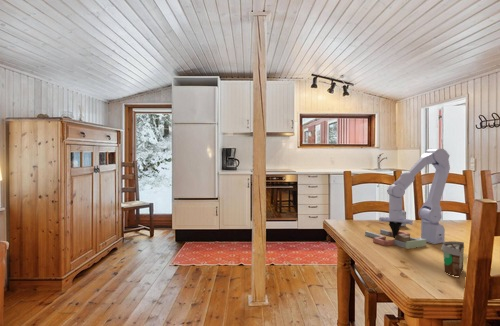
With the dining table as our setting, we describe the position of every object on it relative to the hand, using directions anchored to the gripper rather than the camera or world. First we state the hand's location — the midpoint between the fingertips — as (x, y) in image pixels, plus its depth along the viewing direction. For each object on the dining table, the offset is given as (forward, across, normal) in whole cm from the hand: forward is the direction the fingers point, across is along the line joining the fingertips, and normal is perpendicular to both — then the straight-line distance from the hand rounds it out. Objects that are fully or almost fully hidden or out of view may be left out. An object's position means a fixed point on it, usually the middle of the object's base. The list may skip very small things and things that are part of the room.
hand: (395, 237), depth 156 cm
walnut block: (+1, -3, +2) cm, 4 cm away
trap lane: (+1, +1, -1) cm, 2 cm away
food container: (+2, -22, +35) cm, 41 cm away
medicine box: (+2, +3, -36) cm, 36 cm away
